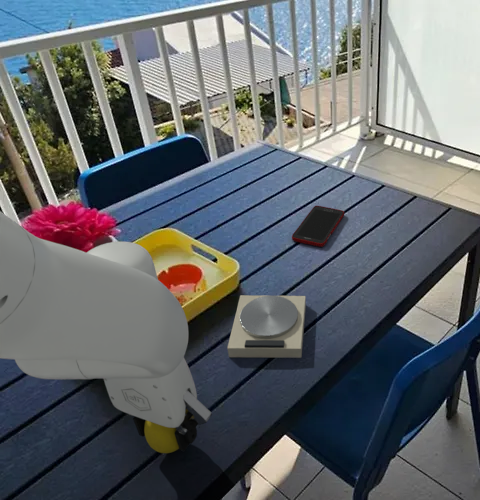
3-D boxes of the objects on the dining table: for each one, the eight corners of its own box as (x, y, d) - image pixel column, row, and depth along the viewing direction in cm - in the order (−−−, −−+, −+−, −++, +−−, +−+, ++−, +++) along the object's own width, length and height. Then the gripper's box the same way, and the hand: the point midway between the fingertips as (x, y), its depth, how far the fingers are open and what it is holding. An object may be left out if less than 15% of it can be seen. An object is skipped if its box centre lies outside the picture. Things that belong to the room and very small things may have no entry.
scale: (301, 357, 83) (300, 345, 81) (228, 357, 83) (226, 344, 81) (305, 304, 93) (305, 292, 92) (241, 304, 93) (239, 291, 91)
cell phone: (345, 214, 119) (345, 210, 118) (323, 248, 107) (323, 244, 107) (315, 208, 121) (315, 204, 120) (290, 241, 109) (290, 237, 109)
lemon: (143, 446, 69) (130, 411, 64) (179, 421, 73) (168, 386, 68) (165, 472, 66) (152, 437, 62) (200, 445, 70) (191, 410, 65)
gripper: (53, 345, 56) (97, 438, 67) (183, 388, 52) (208, 480, 63) (100, 303, 62) (134, 395, 73) (221, 338, 58) (238, 430, 69)
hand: (168, 433), depth 68 cm, fingers closed on lemon, 5 cm apart
